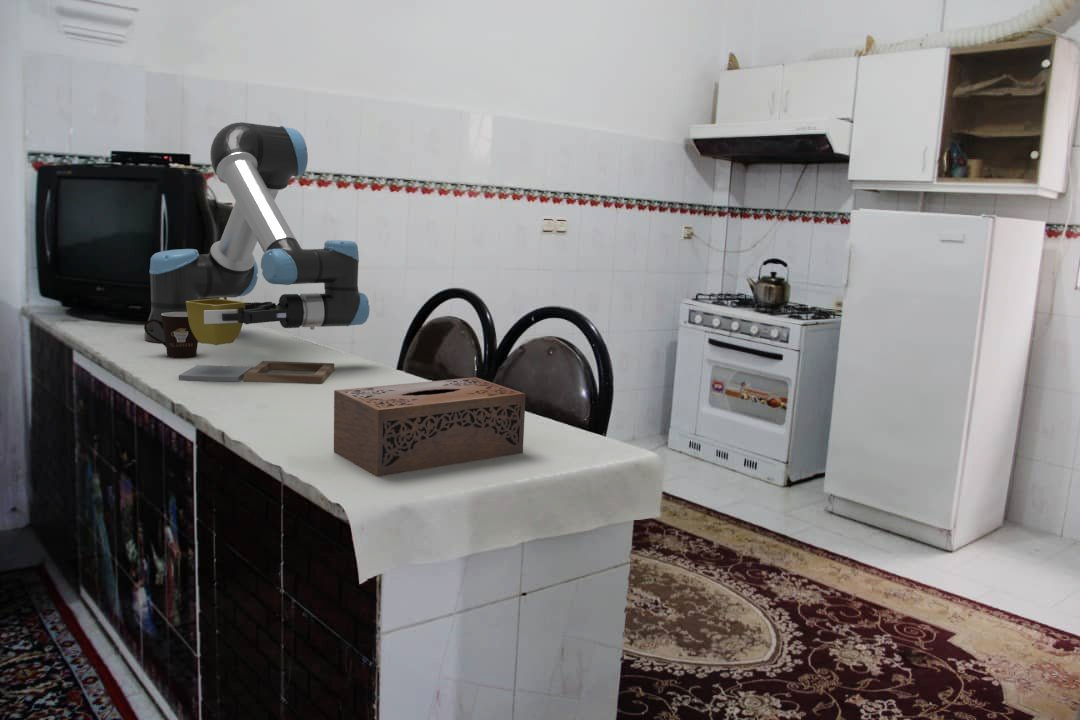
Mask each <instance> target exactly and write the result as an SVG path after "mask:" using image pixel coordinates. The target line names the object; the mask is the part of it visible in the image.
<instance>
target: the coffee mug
mask: <svg viewBox="0 0 1080 720" xmlns="http://www.w3.org/2000/svg"><path fill="white" fill-rule="evenodd" d="M161 317H162V322H161V321H159V320H156V319H152V320H149V321H148V320H147V321H146V322H145V324H144V326H143V327H144V328H143V330H144V333H145V332H146V333H147V334H148V335H149V336H150V337H151V338H153V339H155V340H156V341H158V342H157V343H159V342H160V344H162V345H163V347H165V348H166V349H165V350H166V354H167V355H166V356H167V358H170V359H192V358H196V357H197V355H198V354H197V352H198V346H199V345H198V344H199V342H198V340H197V339H196V338H195V336H194V334H193V333H192V331H191V328H190V325H189V321H188V314H187V312H169V313H163V314H161ZM150 322H157V323H158V324H160V326H161V327H162V329H163V330H164V336H165V342H163V341H161V340H159V339H158V338H156V337H154V336H153V335H151V334H150V333H149V332H148V331H147V328H146V327H147V324H148V323H150Z"/></svg>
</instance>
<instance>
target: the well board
mask: <svg viewBox="0 0 1080 720" xmlns="http://www.w3.org/2000/svg"><path fill="white" fill-rule="evenodd" d="M252 367H253V368H252V369H251V370H249V371H248V372H246V373H245V374H244V378H243V382H256V383H259V382H260V383H283V384H284V383H287V384H313V385H314V384H317V385H320V384H321V385H322V384H323V382H325V380H327V378H328V377H329V376H330V375H331V374H332V373H333V372H334V371H335V363H334V362H333V363H332V362H306V361H280V360H279V361H278V360H277V361H276V360H275V361H274V360H273V361H272V360H262V361H260V362H259V363H258V364H256V365H255V366H252ZM270 370H275V371H276V370H278V371H280V370H282V371H310V372H315V373H314V374H310V373H308V374H306V373H305V374H303V373H301V374H300V373H279V372H278V373H274V372H268V371H270Z"/></svg>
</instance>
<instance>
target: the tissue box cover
mask: <svg viewBox="0 0 1080 720" xmlns="http://www.w3.org/2000/svg"><path fill="white" fill-rule="evenodd" d="M333 393H334V394H333V395H334V396H333V453H335V454H336V455H338V456H340V457H342V458H343V459H345V460H347V461H349V462H350V463H352V464H353V465H355V466H357V467H359V468H361V469H363V470H364V471H366V472H367V473H370V474H371V475H373V476H374V477H377V478H379V477H382V476H383V477H384V476H389V475H397V474H403V473H408V472H414V471H415V472H416V471H422V470H427V469H433V468H439V467H445V466H453V465H459V464H465V463H470V462H476V461H484V460H487V459H488V460H489V459H495V458H501V457H506V456H507V457H508V456H513V455H514V456H515V455H519V454H523V453H524V439H525V438H524V437H525V418H526V417H525V413H526V395H527V394H526V393H524V392H521V391H518V390H515V389H512V388H510V387H506V386H503V385H500V384H497V383H494V382H491V381H488V380H486V379H482V378H479V377H463V378H454V379H453V378H452V379H443V380H432V381H422V382H421V381H420V382H412V383H411V382H409V383H399V384H389V385H378V386H367V387H354V388H346V389H335V390H334V391H333Z"/></svg>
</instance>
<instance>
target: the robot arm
mask: <svg viewBox="0 0 1080 720" xmlns="http://www.w3.org/2000/svg"><path fill="white" fill-rule="evenodd" d="M210 146H211V148H210V161H211V167H212V169H213V171H214V173H215V175H216V176H217V178H218V180H219V181H220V182H221V183H223V184H226V186H227V187H228V189H229V191H230V193H231V195H232V196H233V198H234V200H235V202H234V204H233V207H232V210H231V212H230V215H229V216H228V217H229V218H228V220H227V223H226V225H225V228H224V231H223V233H222V235H221V238H220V240H218V241H215V242H214V243H213V244H212V245H211V247H210V249H209V252H208V253H206V254H204V253H203V254H200V253H199V251H198V249H194V248H182V249H170V250H169V249H168V250H163V251H159V252H155V253H154V254H152V256H151V257H150V264H149V279H150V301H151V304H150V305H151V308H150V314H149V317H148V319H147V321H149V320H152V319H156V320H159V321H161V322H162V317H161V314H163V313H169V312H187V307H186V301H194V300H200V299H223V298H238V297H244V296H247V295H249V294H251V292H252V291H253V290H254V289H255V287H256V285H257V282H258V278H259V277H258V274H259V268H258V264H257V261H256V259H255V255H254V254H253V252H254V250H255V248H256V246H257V243H258V244H259V245H260V248H261V249H262V252H263V254H262V257H261V260H260V268H261V270H262V273H261V274H262V276H263V279H264V280H265V281H266V282H268V283H269V284H272V285H283V286H289V285H303V284H304V285H305V284H307V285H308V284H323V285H324V293H317V292H315V293H314V292H313V293H312V292H311V293H300V294H298V293H284V294H282V295H280V297H279V299H278V303H277V304H276V303H275V302H272V301H264V302H259V301H257V302H256V301H255V302H246V304H245V310H244V308H243V307H238V313H237V310H204V324H220V323H238V321H239V323H243V324H245V325H250V324H261V323H263V324H264V323H272V322H274V323H275V322H279V324H280V325H281V327H282V328H283V329H297V328H300V327H301V328H309V329H310V330H311V331H312V330H315V328H316V327H321V328H322V327H324V328H325V327H350V326H359V325H364V324H365V323H366V322H367V321H368V319H369V317H370V316H369V315H370V304H369V301H370V300H369V298H368V297H367V295H366V294H365V293H363V292H360V291H359V286H358V285H359V283H358V282H359V262H360V257H359V256H360V255H359V248H358V247H359V246H358V244H357V242H356V241H353V240H338V239H337V240H335V239H334V240H333V239H332V240H326V241H324V246H323V248H313V249H311V248H310V249H309V248H305V249H304V248H302V247H301V245H300V244H299V242H298V241H297V238H296V236H295V235H294V233H293V231H292V229H291V228H290V226H289V224H288V222H287V221H286V219H285V218H284V215H283V214H282V212H281V210H280V209H279V207H278V205H277V203H276V197H277V196H278V193H279V191H282V190H285V189H286V188H287V187H288V186H289V184H290V181H291V179H292V177H295V178H297V177H301V176H302V175H304V173H305V171H306V170H307V167H308V159H309V158H308V157H309V156H308V154H309V153H308V147H307V143H306V141H305V139H304V136H303V135H302V134H301V132H300V131H299V130H297V129H295V128H290V127H286V126H284V125H281V126H274V125H266V124H257V123H250V122H235V123H230V124H228V125H226V126H224V127H223V128H221V129H220V130H219V132H218V133H217V134H216V135H215V136H214V138H213V140H212V143H211V145H210ZM146 328H147V331H148V332H149V333H150V334H151V335H153V336H154V337H156V338H158V339H159V340H161V341H163V342H165V336H164V330H163V329H162V327H161V326H160V324H158V323H157V322H150V323H148V324H147V327H146ZM144 340H145V341H147V342H152V343H160V342H158V341H156V340H155V339H153V338H151V337H150V336H149V335H148V334H147V333H146V332H145V331H144ZM160 344H161V343H160Z"/></svg>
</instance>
